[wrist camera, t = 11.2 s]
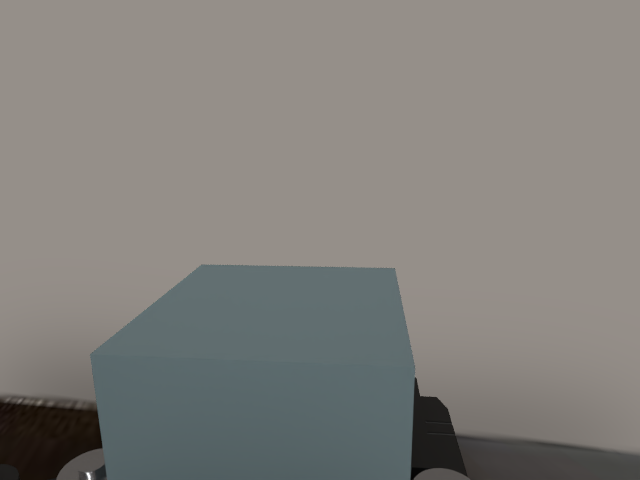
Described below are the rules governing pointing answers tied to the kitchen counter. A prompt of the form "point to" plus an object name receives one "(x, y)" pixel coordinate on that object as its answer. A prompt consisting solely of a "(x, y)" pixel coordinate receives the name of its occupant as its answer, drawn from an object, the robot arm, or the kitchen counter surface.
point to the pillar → (261, 379)
